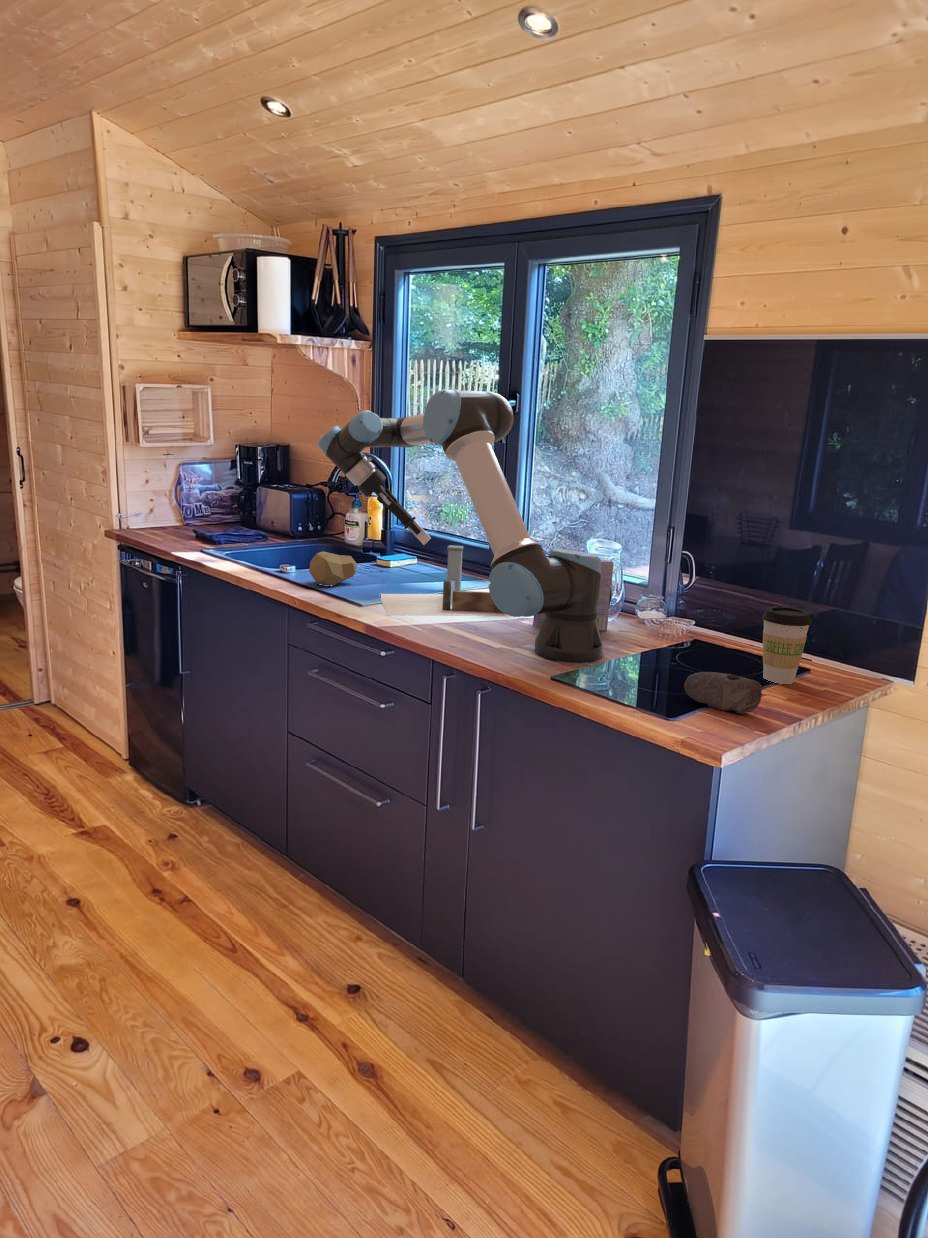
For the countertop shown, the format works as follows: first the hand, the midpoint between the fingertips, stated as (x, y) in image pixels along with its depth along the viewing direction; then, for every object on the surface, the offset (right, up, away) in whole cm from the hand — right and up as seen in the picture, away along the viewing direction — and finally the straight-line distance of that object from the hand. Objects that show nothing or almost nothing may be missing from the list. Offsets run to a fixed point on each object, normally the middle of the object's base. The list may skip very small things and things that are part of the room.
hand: (427, 541), depth 250 cm
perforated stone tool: (+58, -38, -74) cm, 102 cm away
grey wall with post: (+6, -16, -1) cm, 17 cm away
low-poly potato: (-28, -11, +16) cm, 34 cm away
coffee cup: (+76, -34, -55) cm, 100 cm away
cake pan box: (+37, -24, -21) cm, 49 cm away
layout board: (+5, -18, -4) cm, 19 cm away
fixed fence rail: (+13, -19, -10) cm, 25 cm away
